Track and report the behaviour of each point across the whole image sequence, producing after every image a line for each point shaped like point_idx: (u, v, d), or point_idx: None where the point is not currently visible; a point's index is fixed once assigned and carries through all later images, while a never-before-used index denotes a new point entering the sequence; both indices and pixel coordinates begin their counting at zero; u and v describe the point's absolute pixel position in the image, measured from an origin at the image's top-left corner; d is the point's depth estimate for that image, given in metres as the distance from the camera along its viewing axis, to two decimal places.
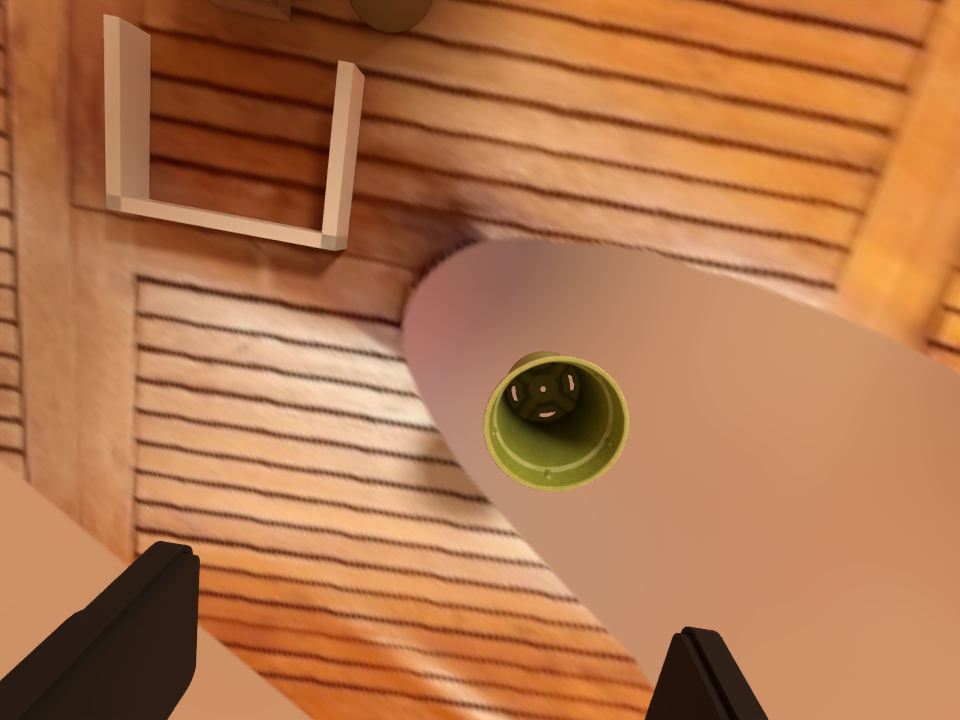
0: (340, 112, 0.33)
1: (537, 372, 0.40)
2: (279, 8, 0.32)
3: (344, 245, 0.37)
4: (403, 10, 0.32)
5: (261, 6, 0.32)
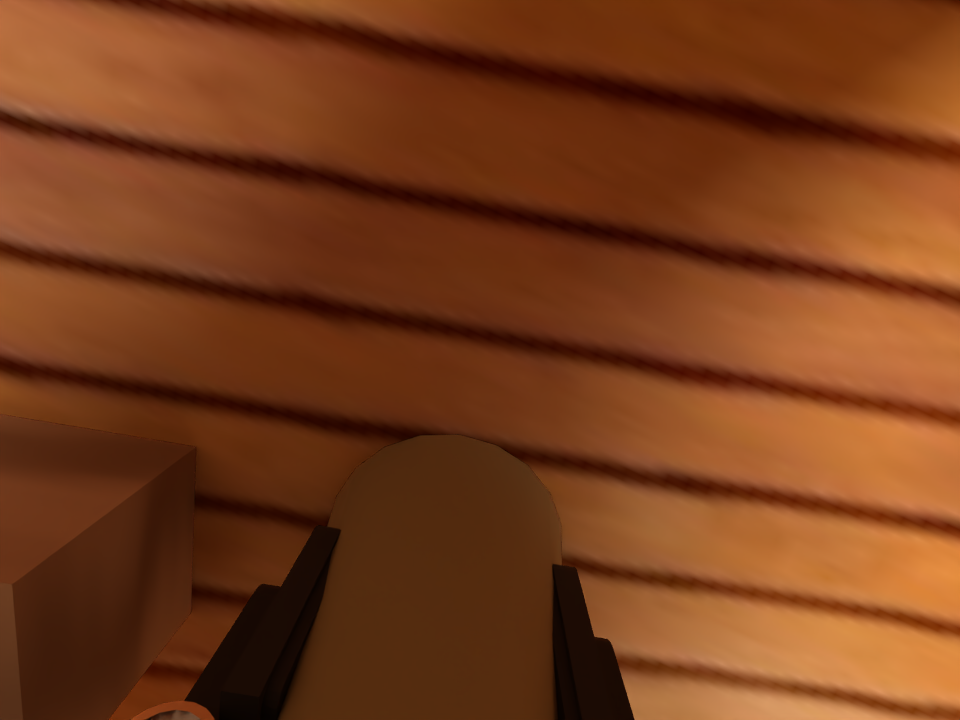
0: None
1: None
2: (147, 663, 0.12)
3: None
4: None
5: None
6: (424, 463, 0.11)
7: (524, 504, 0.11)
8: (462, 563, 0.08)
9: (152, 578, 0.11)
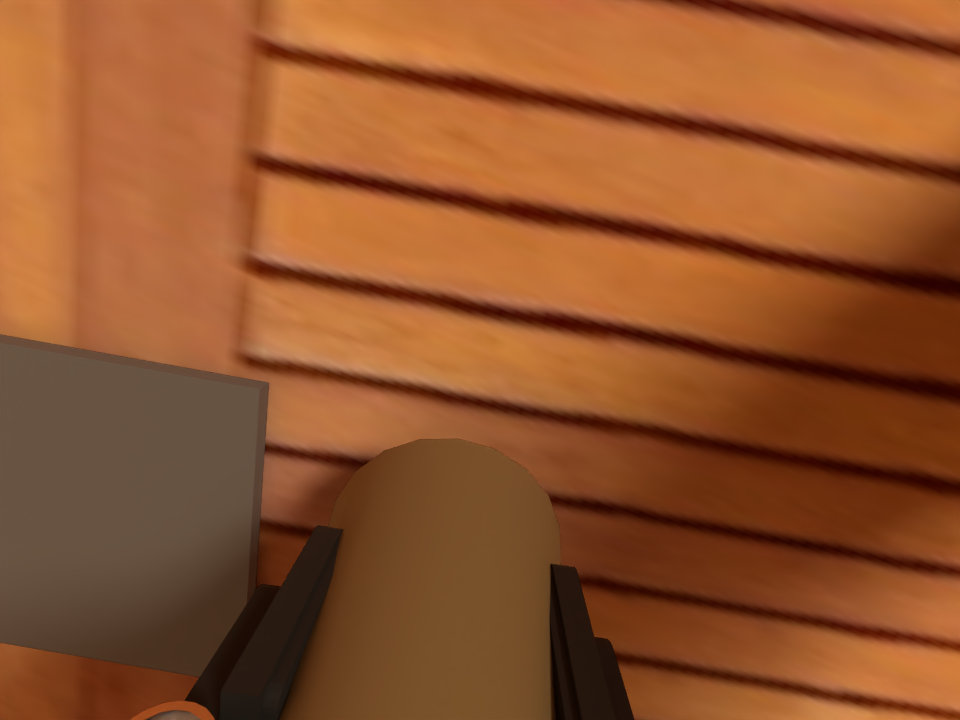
0: None
1: None
2: None
3: None
4: None
5: None
6: (423, 467, 0.11)
7: (523, 508, 0.11)
8: (461, 568, 0.08)
9: None
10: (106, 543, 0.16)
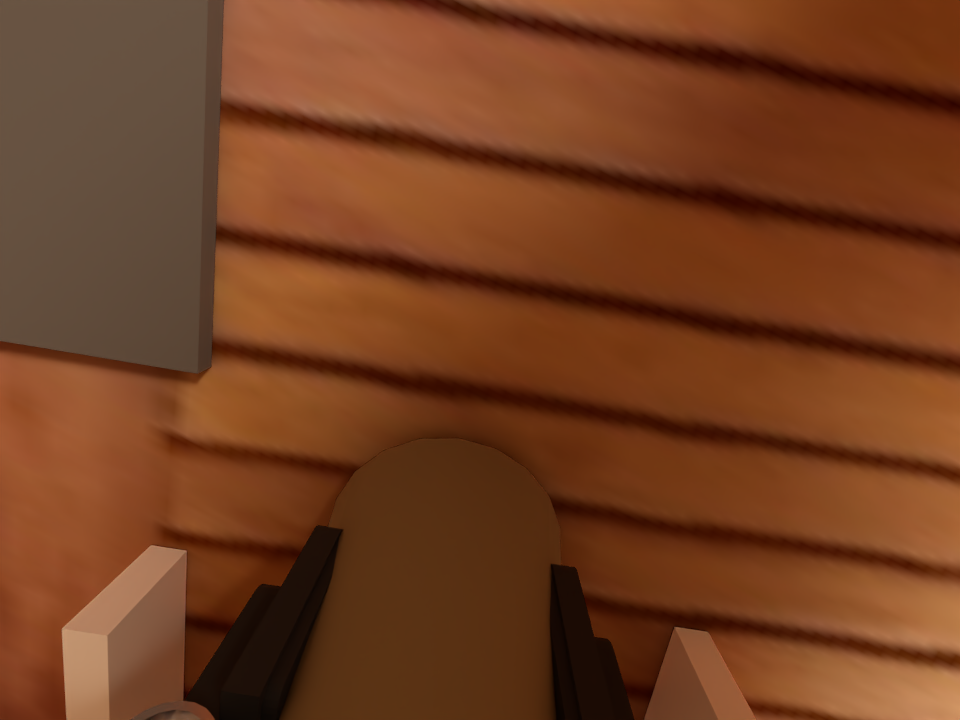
0: None
1: None
2: None
3: None
4: None
5: None
6: (423, 466, 0.11)
7: (523, 507, 0.11)
8: (461, 567, 0.08)
9: None
10: None
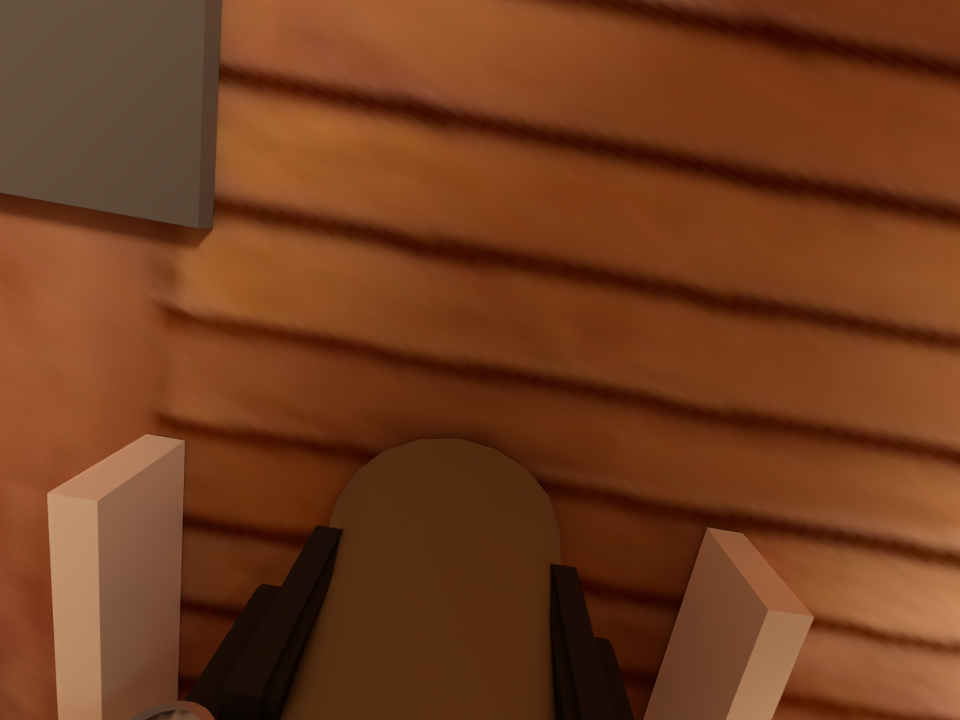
0: None
1: None
2: None
3: None
4: None
5: None
6: (423, 467, 0.11)
7: (523, 508, 0.11)
8: (461, 567, 0.08)
9: None
10: None
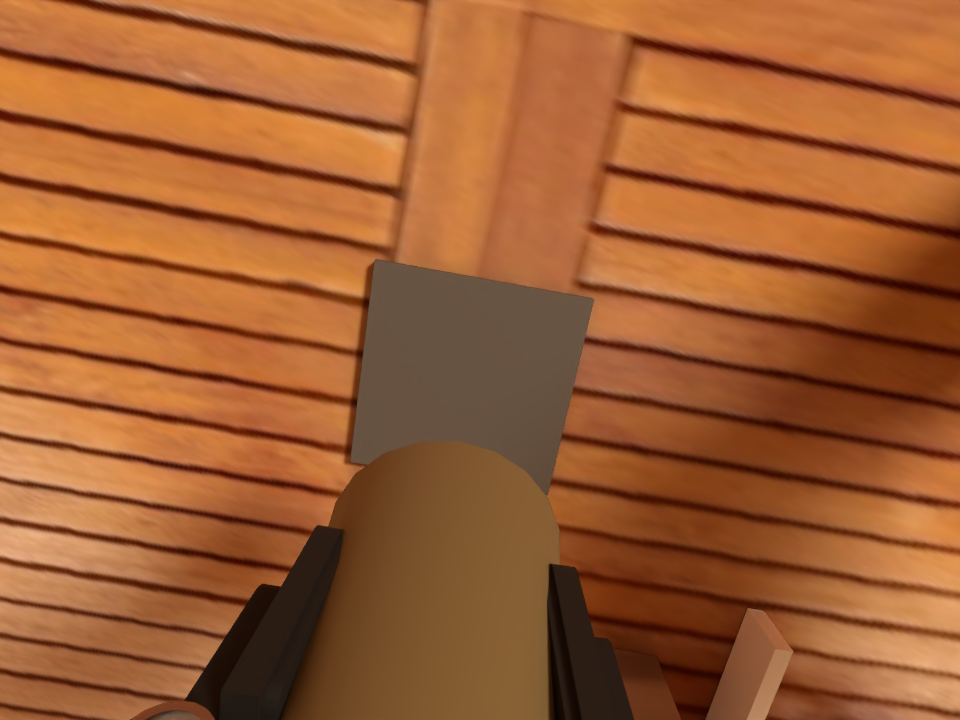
0: (765, 693, 0.28)
1: None
2: None
3: None
4: None
5: None
6: (423, 470, 0.11)
7: (522, 511, 0.11)
8: (461, 571, 0.08)
9: None
10: (480, 399, 0.26)
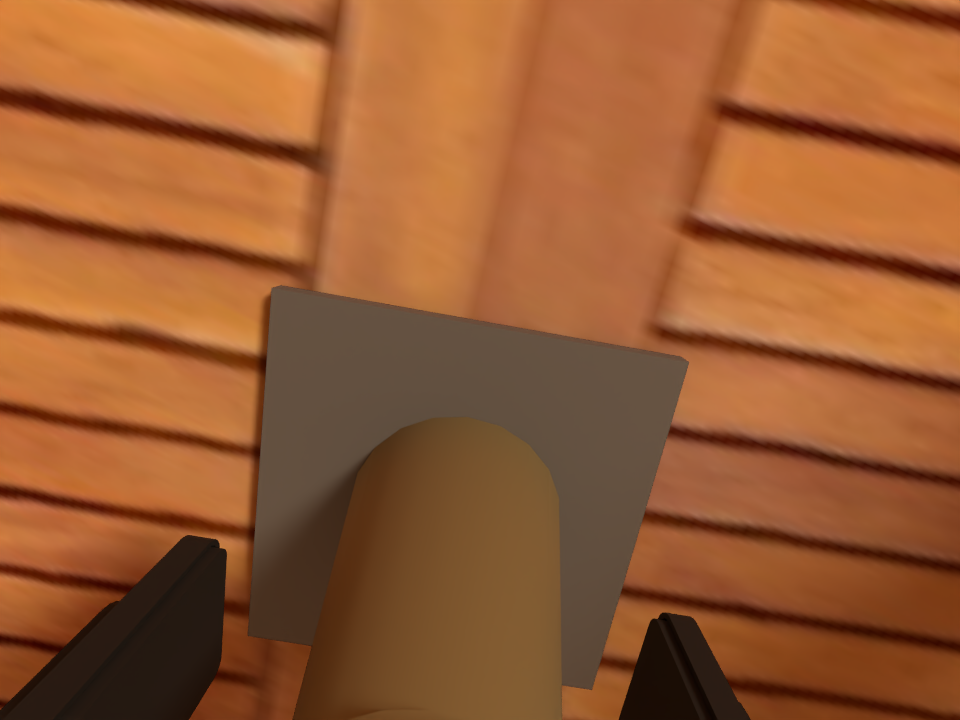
0: None
1: None
2: None
3: None
4: None
5: None
6: (438, 440, 0.12)
7: (526, 476, 0.12)
8: (473, 519, 0.10)
9: None
10: None
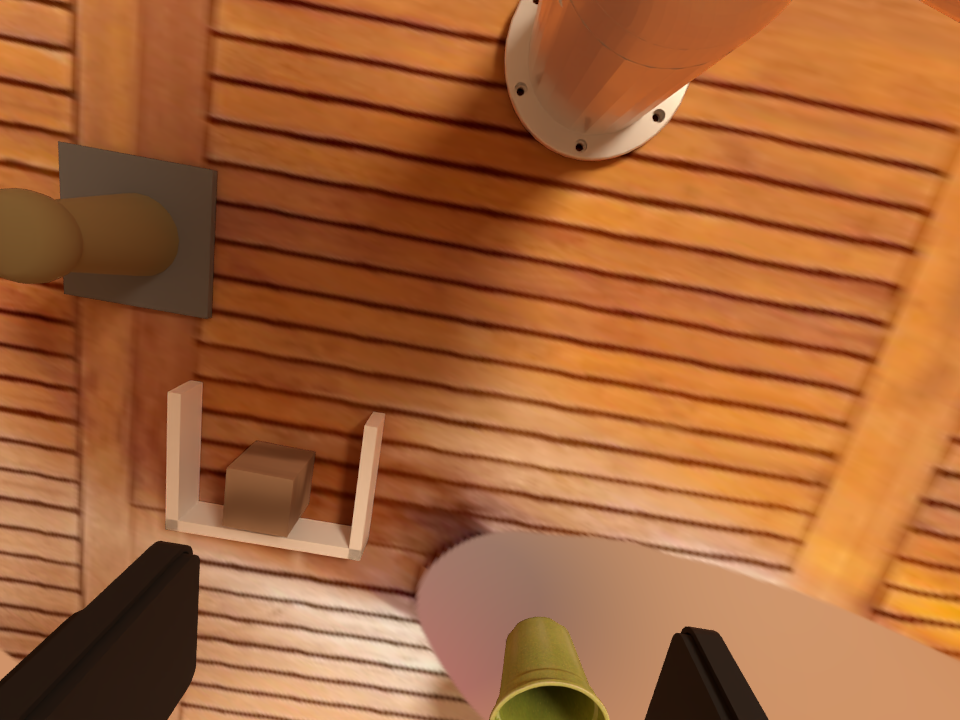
0: (365, 462, 0.39)
1: None
2: (301, 513, 0.41)
3: (367, 540, 0.43)
4: (140, 271, 0.35)
5: None
6: (115, 194, 0.35)
7: (144, 205, 0.35)
8: (100, 198, 0.32)
9: (305, 488, 0.41)
10: None
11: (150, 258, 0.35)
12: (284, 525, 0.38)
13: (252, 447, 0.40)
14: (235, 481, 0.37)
